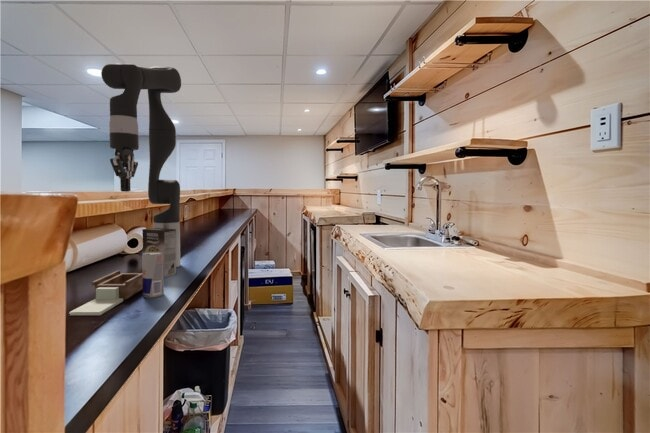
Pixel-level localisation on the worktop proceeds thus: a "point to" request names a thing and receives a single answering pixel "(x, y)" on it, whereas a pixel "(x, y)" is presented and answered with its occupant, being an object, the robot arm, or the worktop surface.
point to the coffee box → (162, 246)
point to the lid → (100, 302)
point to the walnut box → (121, 283)
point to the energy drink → (152, 274)
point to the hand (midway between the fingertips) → (125, 191)
